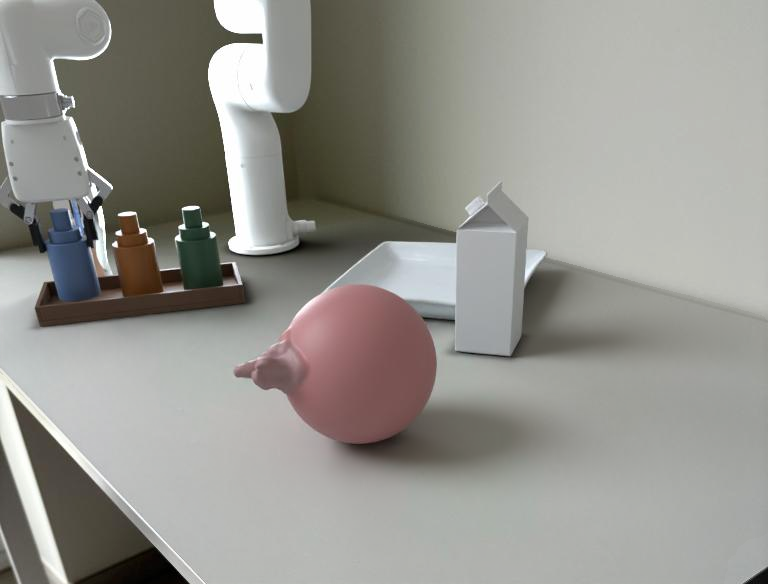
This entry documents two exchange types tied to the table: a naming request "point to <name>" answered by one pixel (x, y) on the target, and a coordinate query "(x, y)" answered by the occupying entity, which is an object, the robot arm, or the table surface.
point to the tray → (138, 298)
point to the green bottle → (197, 252)
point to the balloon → (352, 364)
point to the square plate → (418, 274)
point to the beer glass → (77, 219)
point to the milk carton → (490, 275)
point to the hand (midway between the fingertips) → (68, 246)
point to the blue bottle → (70, 259)
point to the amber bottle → (136, 258)
